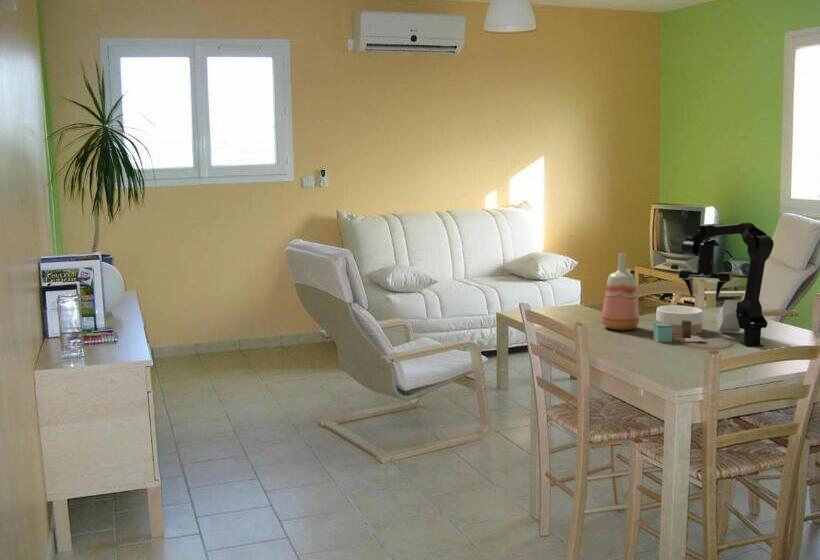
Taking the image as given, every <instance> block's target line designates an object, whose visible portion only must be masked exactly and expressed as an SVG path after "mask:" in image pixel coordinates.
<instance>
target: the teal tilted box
mask: <svg viewBox="0 0 820 560" xmlns="http://www.w3.org/2000/svg"><path fill="white" fill-rule="evenodd" d="M672 335H673V334H672V325H670V324H669V323H656V322H654V323H653V336H652V337H653V340H654V341H655V342H657V343H673V342H672Z"/></svg>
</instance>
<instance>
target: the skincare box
mask: <svg viewBox="0 0 820 560" xmlns="http://www.w3.org/2000/svg"><path fill="white" fill-rule="evenodd" d="M740 301H743V299H725V300H724V302H723V305H722V306H721V308H720V309H719V312H718V314H717V316H716V324H717V332H719V333H720V332H721V333H739V332H740V331H741V329H742V328H740V327H739V323H738V319H737V317H736V314H737V313H735V311H736V309H737V302H740Z"/></svg>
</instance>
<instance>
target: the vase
mask: <svg viewBox="0 0 820 560" xmlns="http://www.w3.org/2000/svg"><path fill="white" fill-rule="evenodd" d="M626 256H627V255H626V253H625V252H620V253H618V260H617V261H618V265H617V270H616V271H614V272H612V273H610V274H609V275H608V277H607V281H606V282H607V283H606V287H605V291H604V292H605V294H604V298H603V299H604V300H603V303H602V304H603V307H602V311H601V316H600V317H601V320H600V322H601V324H602V325H603V326H604V327H605V328H607V329H610V330H614V331H615V330H616V331H631V330H633V329H635V328H637V327H638V326H639V323H640V313H639V312H640V311H639V304H638V303H639V302H638V296H637V295H638V294H637V285H636V278H635V276H634V274H632V273H631V272H628V271H627V269H626V266H627V264H626V263H627V261H626V260H627V259H626V258H627V257H626Z"/></svg>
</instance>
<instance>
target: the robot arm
mask: <svg viewBox="0 0 820 560" xmlns="http://www.w3.org/2000/svg"><path fill="white" fill-rule="evenodd" d="M739 234H740V235H741V238H742V241H743V243H744V244H745V245H746V246H747V255H748V257H749V259H750V262H749V267H748V274H747V280H746V287H745V291H744V298H743V299H742V300H743V301H740V302H737V309H736V311H735V313H737V314H736V317H737V319H738V323H739V327H740V328H741V329H742V330H743V340H741V341H739V343H740V344H742V345H743V346H746V347H764V346H765V344H763V343H761V341H762V340H761V338H762V337H761V336H762V329H767V326H768V321H767V320H766V318H765V316H764V315H763V307H762V304H761V303H760V302H761V301H760V295H761V289H762V283H763V278H764V273H765V272H764V271H765V266H766V261H767V260H768V258H769V257H770V256H771V253H772V251H773V248H774V245H775V244H774V240H773V239H772V237H771V236H770V235H768V234H767V233H766V232H764V231H763V230H761V229H759V228H758V227H757V226H756V225H755V224H754V223H752V222H749V221H748V222H740V223H737V224H736V223H735V224H725V225H721V224H715V223H706V224H699V225H698V226H697V229H696V231H695V232H694V234H693V235H692V236H688V237H687V236H686V237H685V240H684V241H683V242H682V245H681V252H682V253H683V255H688V256H695V257H697V256H698V257H697V259H698V260H697V264H696V265H697V266H696V269H697V271H693V269H681V270H680V271H679V272H678V278H679V279H681V280H682V281H684V282H685V284H686V286H687V289H688V292H689V294H690V296H691V297H692V298H693V297H694V283H693V282H694V278H705V279H717V280H718V281H717V284H716V291H715V299H716V300H717V299H718V298H719V296H720V293H721V291H722V289H723V287H724V286H725V284H727V283H728V282H731V281H732V280H733V273H732V272H731V271H730V272H729V271H720V272H719V273H717V265H716V264H715V248H716V247H720V244H719V243H718V242H717V241H716V239H718V238H721V237H722V236H729V235H739Z"/></svg>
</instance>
